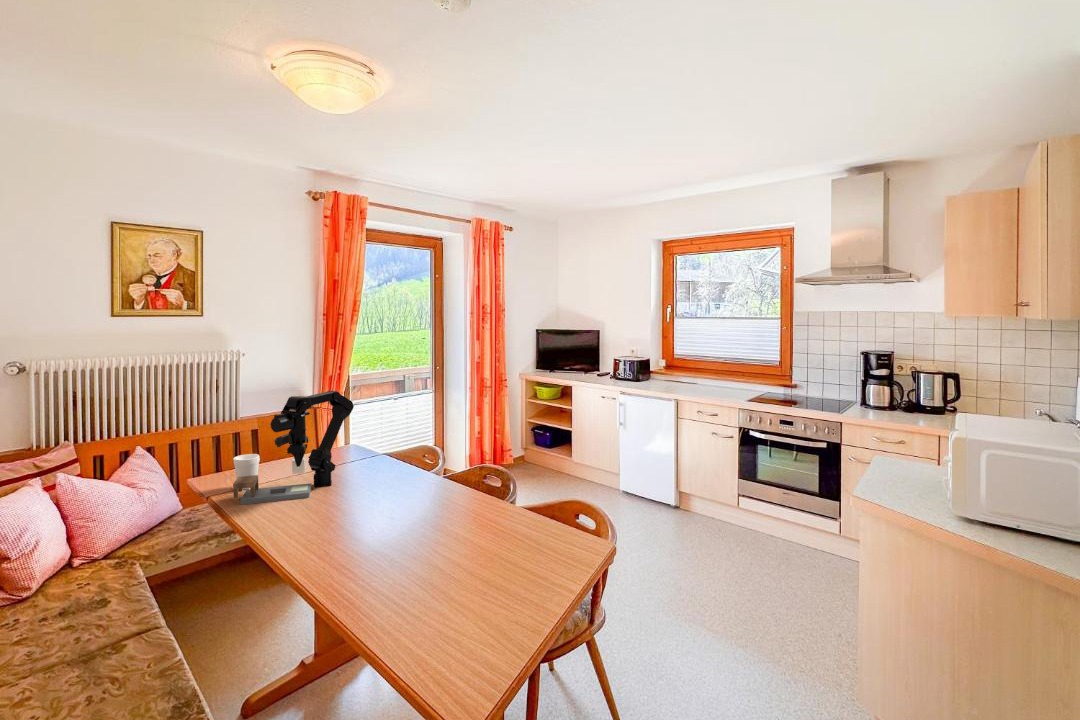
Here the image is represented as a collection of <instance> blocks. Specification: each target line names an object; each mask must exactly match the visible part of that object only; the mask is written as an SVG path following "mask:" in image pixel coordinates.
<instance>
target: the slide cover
mask: <svg viewBox="0 0 1080 720" xmlns="http://www.w3.org/2000/svg"><path fill="white" fill-rule="evenodd" d="M232 484H233V485H232V493H233V497H232V498H233V499H234V500H235V499H236V500H237V499H238V498H239V497H238V495H239V494H238V493H239V492H242V491H243V489H242V488H250V489H251V497H254V496H255V490H258V489H259V474H258V475H253V476H241V477H238V478H237V477H236V479H235V480H234V481H233V483H232Z"/></svg>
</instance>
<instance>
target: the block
mask: <svg viewBox="0 0 1080 720" xmlns="http://www.w3.org/2000/svg"><path fill="white" fill-rule="evenodd" d="M291 466H292V467H291V470H292V475H297V474H299V475H300V474H305V473H306V470H307V467H306V456H304V457H303V459H302V462H301V465H300V466H299V467H297V465H296V462H295V459H294V457H293V458H292V460H291Z"/></svg>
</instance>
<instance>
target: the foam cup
mask: <svg viewBox="0 0 1080 720" xmlns="http://www.w3.org/2000/svg"><path fill="white" fill-rule="evenodd" d="M232 459H233V466H234V469H235V475H236V479H237V478H238V477H241V476H253V475H258V476H259V465H260V455H259V454H257V453H248V454H240V455H237V456H235V457H233V458H232ZM247 489H249V488H242V490H247Z"/></svg>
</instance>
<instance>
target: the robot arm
mask: <svg viewBox="0 0 1080 720" xmlns="http://www.w3.org/2000/svg"><path fill="white" fill-rule="evenodd" d="M324 403H329V405H330V406H331V407H332V408H331V414H332V415H331V419H330V422H329V423H328V426H327V428H326V431H325V433H324V435H323V437H322V439H321V442H320V444H319V446H318V448H316V449H315V448H313V449H312V450H311V453H310V454H309V456H308V466H309V467H310V469H311V471H313V472H314V474H313V485H314V488H319V487H320V488H321V487H331V486H332V483H333V480H332V473H333V471H335V469H336V464H334V463H333V462H332V458H333V457H332V449H333V446H334V444H335V441H336V438H337V437H338V434H339V432H340V429H341V428H342V425H343V423H344V421H345V419H347V418H348V417H349V416H350V415H351V413H352V411H353V409H354V406H355V405H354V404H353V401H352V400H350V399H349V398H348V397H345V396H344V395H342V394H341V393H340V392H339V391H336V390H327V391H325V392H320V393H315V394H310V395H307V396H306V395H305V396H300V395H298V396H297V395H293V396H290V397H288V398H287V401H286V403H285V405H284V407H282V410H281V412H280V414H274V415H273V418H272V419H271V421H270V428H271V431H273V433H280V432H285V431H288V433H285V434H283V435H280V436H278V437H275V439H274V440H273V441H274V445H275V446H276V448H281V447H282V446H285V445H287V444H288V445H289V446H288V447H287V449H286V450H287V452H286V453H287V454H289V455H290V454H291V455H292V456H293V458H294V459H295V462H296V465H297V467H299V466H300V465H301V462H302V459H303V457H305V454H306V450H307V449H308V446H309V444H308V443H309V441H310V439H309V436H308V435H307V425H306V424H307V423H306V416H309V415H310V412H309V411H308V409H310V408H312V407H313V406H316V405H320V404H324Z"/></svg>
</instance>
